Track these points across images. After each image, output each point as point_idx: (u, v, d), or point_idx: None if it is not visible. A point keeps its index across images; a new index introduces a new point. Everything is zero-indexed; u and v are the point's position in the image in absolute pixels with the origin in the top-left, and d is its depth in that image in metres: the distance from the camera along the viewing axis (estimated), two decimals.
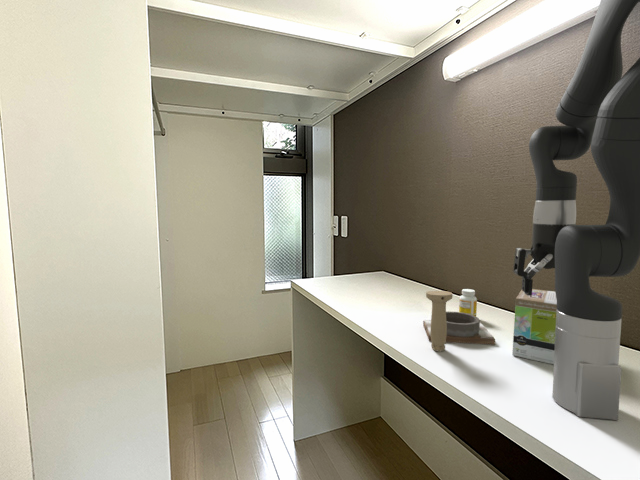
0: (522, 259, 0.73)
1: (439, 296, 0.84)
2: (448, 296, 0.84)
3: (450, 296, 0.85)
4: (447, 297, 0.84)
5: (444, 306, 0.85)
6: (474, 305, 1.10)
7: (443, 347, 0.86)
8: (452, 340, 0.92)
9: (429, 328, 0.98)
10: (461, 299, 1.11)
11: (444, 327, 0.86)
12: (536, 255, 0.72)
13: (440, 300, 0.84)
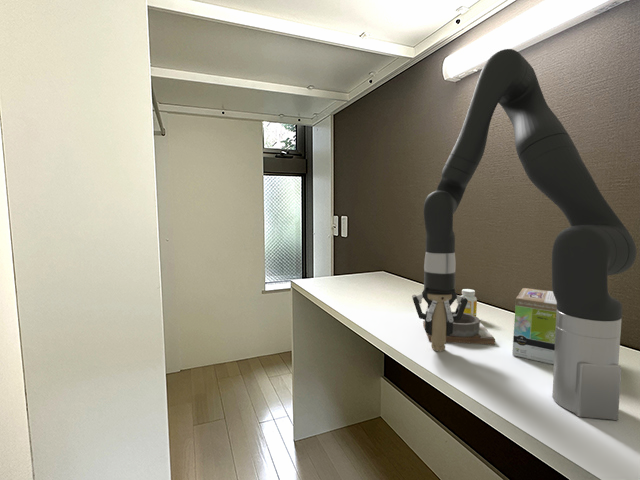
0: (417, 305, 0.86)
1: (439, 296, 0.84)
2: (448, 296, 0.84)
3: (450, 296, 0.85)
4: (447, 297, 0.84)
5: (444, 306, 0.85)
6: (474, 305, 1.10)
7: (443, 347, 0.86)
8: (452, 340, 0.92)
9: None
10: None
11: (444, 327, 0.86)
12: (426, 298, 0.86)
13: (440, 300, 0.84)
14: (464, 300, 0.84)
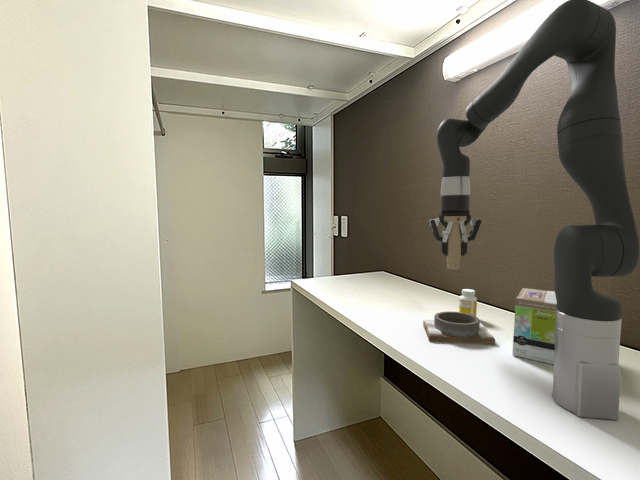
0: (434, 227, 0.93)
1: (455, 217, 0.91)
2: (463, 217, 0.91)
3: (465, 217, 0.92)
4: (462, 218, 0.91)
5: (459, 227, 0.93)
6: (474, 305, 1.10)
7: (458, 266, 0.94)
8: (452, 340, 0.92)
9: (429, 328, 0.98)
10: (461, 299, 1.11)
11: (459, 247, 0.93)
12: (443, 220, 0.93)
13: (456, 221, 0.91)
14: (478, 221, 0.91)
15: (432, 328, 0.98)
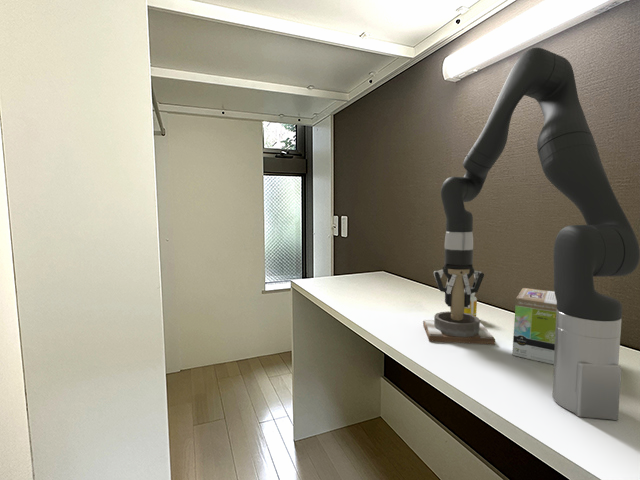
0: (438, 279, 0.97)
1: (458, 270, 0.94)
2: (466, 270, 0.95)
3: (468, 271, 0.95)
4: (465, 271, 0.94)
5: None
6: (474, 305, 1.10)
7: (461, 317, 0.97)
8: (452, 340, 0.92)
9: (429, 328, 0.98)
10: None
11: (462, 298, 0.96)
12: (447, 273, 0.96)
13: (459, 274, 0.94)
14: (481, 274, 0.94)
15: (432, 328, 0.98)
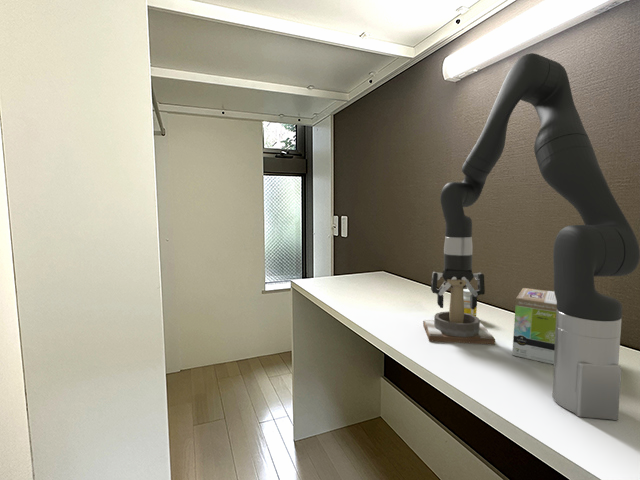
0: (435, 280, 0.97)
1: (458, 281, 0.95)
2: None
3: None
4: (465, 282, 0.95)
5: (462, 290, 0.96)
6: None
7: None
8: (452, 340, 0.92)
9: (429, 328, 0.98)
10: None
11: (462, 309, 0.96)
12: (445, 277, 0.96)
13: (458, 284, 0.95)
14: (481, 275, 0.94)
15: (432, 328, 0.98)
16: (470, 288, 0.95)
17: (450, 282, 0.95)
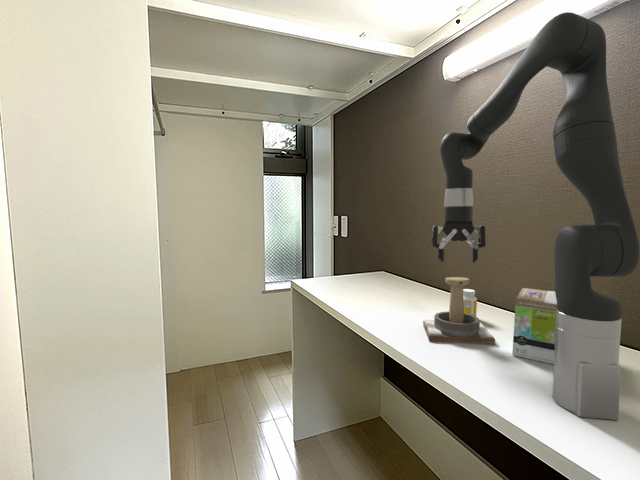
0: (435, 233, 0.96)
1: (457, 281, 0.94)
2: (465, 281, 0.95)
3: (467, 281, 0.95)
4: (465, 282, 0.95)
5: (462, 290, 0.96)
6: (474, 305, 1.10)
7: None
8: (452, 340, 0.92)
9: (429, 328, 0.98)
10: None
11: (462, 309, 0.96)
12: (445, 230, 0.95)
13: (458, 285, 0.95)
14: (481, 227, 0.93)
15: (432, 328, 0.98)
16: (471, 240, 0.94)
17: (450, 282, 0.95)
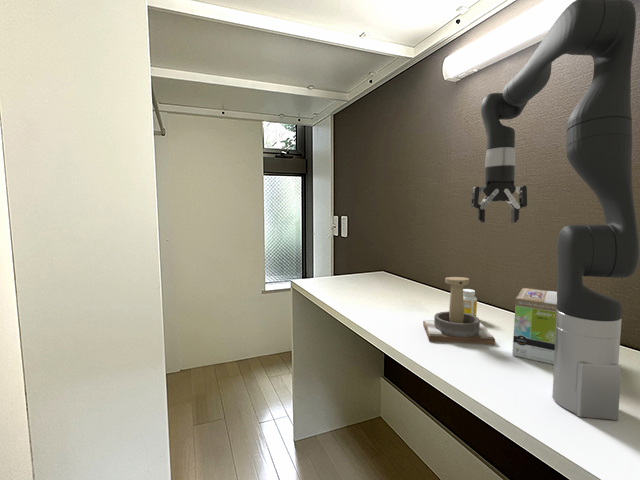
0: (477, 194, 0.96)
1: (457, 281, 0.95)
2: (465, 281, 0.95)
3: (467, 281, 0.95)
4: (464, 282, 0.95)
5: (462, 290, 0.96)
6: (474, 305, 1.10)
7: None
8: (452, 340, 0.92)
9: (429, 328, 0.98)
10: None
11: (462, 309, 0.96)
12: (487, 191, 0.96)
13: (458, 284, 0.95)
14: (523, 187, 0.94)
15: (432, 328, 0.98)
16: (512, 200, 0.95)
17: (450, 282, 0.95)
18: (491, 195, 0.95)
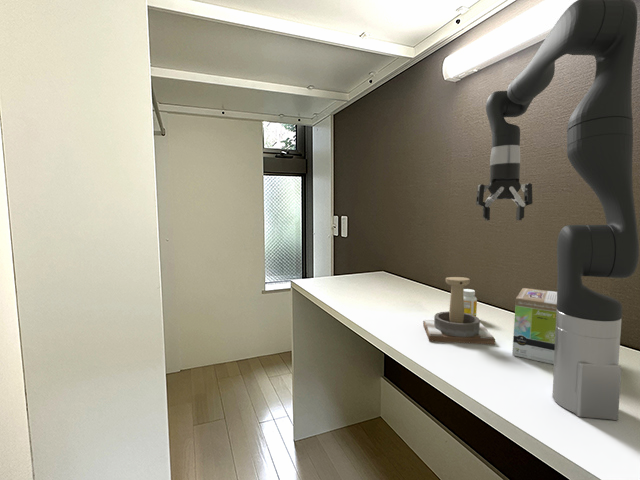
0: (481, 192, 0.96)
1: (458, 281, 0.94)
2: (466, 281, 0.95)
3: (467, 281, 0.95)
4: (465, 282, 0.95)
5: (462, 290, 0.96)
6: (474, 305, 1.10)
7: None
8: (452, 340, 0.92)
9: (429, 328, 0.98)
10: None
11: (462, 309, 0.96)
12: (492, 188, 0.96)
13: (459, 285, 0.95)
14: (528, 185, 0.94)
15: (432, 328, 0.98)
16: (518, 198, 0.94)
17: (450, 282, 0.95)
18: (496, 193, 0.95)
